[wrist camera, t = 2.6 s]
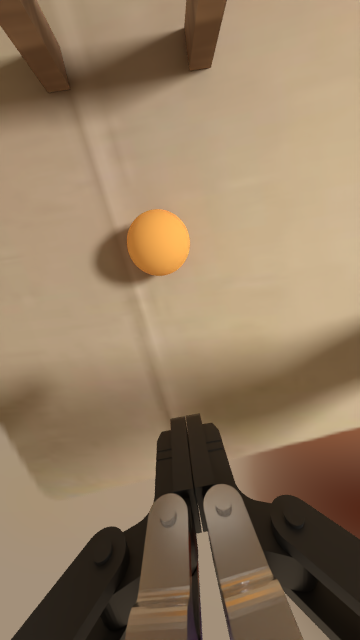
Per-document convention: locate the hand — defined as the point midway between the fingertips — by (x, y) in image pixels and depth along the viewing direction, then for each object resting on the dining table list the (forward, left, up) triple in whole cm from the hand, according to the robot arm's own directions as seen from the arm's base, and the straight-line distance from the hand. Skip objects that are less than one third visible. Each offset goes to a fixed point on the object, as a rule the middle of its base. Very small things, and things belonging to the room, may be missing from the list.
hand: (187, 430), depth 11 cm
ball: (+10, 0, -13) cm, 16 cm away
